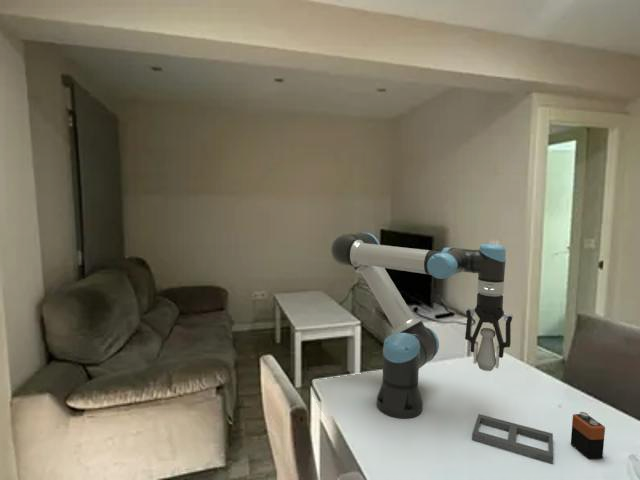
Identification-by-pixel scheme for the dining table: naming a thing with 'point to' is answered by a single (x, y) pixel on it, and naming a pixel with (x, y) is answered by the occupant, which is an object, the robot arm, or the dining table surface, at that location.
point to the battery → (587, 435)
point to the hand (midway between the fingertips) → (486, 364)
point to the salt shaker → (486, 350)
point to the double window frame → (514, 438)
